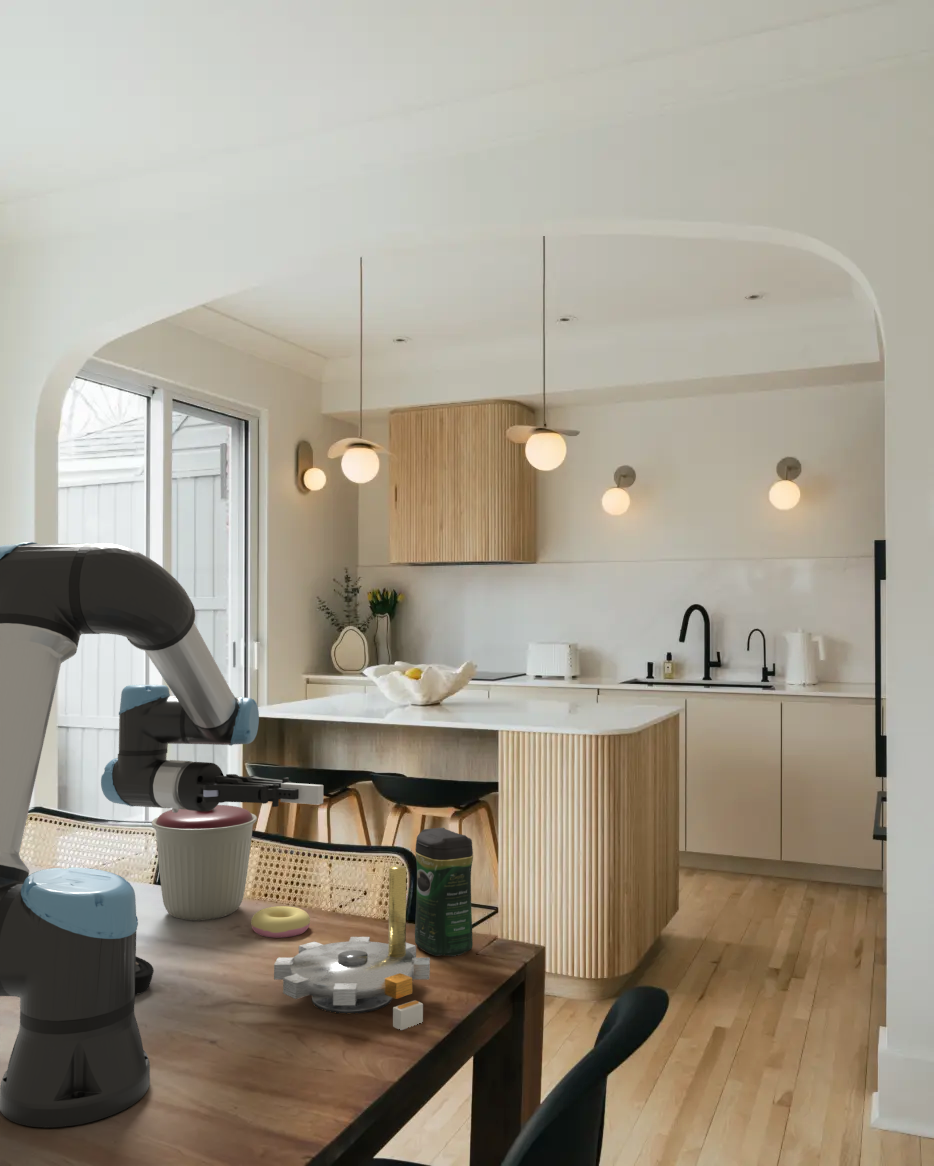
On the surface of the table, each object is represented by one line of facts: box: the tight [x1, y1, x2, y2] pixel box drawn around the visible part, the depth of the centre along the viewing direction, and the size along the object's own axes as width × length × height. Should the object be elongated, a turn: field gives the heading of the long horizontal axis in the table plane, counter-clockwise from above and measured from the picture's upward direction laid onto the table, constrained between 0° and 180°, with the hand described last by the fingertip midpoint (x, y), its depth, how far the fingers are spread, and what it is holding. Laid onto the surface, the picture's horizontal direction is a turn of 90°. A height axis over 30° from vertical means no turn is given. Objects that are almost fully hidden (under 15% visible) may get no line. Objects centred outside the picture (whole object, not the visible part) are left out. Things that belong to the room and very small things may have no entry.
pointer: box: [392, 999, 424, 1031], centre depth 126 cm, size 4×2×3 cm, turn 133°
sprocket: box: [273, 865, 431, 1005], centre depth 135 cm, size 21×21×14 cm
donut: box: [250, 905, 311, 939], centre depth 165 cm, size 10×5×9 cm
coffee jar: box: [414, 827, 474, 957], centre depth 156 cm, size 10×8×19 cm
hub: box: [311, 995, 394, 1015], centre depth 135 cm, size 11×11×3 cm
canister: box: [151, 804, 258, 921], centre depth 175 cm, size 18×18×21 cm
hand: (320, 794), depth 146 cm, fingers closed
